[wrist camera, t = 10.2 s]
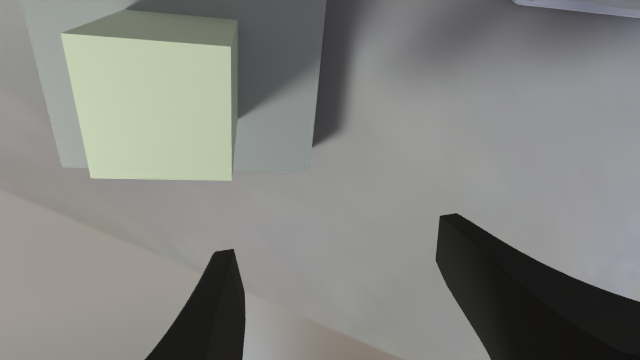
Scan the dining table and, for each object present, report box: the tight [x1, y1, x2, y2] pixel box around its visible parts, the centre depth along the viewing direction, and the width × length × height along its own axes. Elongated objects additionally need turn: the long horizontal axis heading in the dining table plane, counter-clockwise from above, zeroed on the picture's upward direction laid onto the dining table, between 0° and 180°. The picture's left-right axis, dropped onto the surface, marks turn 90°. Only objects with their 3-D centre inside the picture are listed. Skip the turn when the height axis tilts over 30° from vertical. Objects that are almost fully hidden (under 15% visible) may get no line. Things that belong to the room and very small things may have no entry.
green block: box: [61, 9, 238, 181], centre depth 14 cm, size 4×4×6 cm
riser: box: [21, 0, 327, 172], centre depth 18 cm, size 12×10×2 cm
